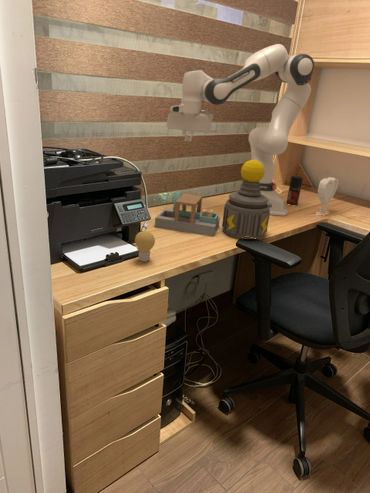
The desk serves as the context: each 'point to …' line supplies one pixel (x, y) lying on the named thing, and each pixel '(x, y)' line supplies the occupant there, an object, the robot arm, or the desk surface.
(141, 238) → the light bulb
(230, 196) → the toy power generator
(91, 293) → the desk surface
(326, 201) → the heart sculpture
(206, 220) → the sled
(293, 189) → the deodorant
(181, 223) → the tunnel deck
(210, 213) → the maple block
